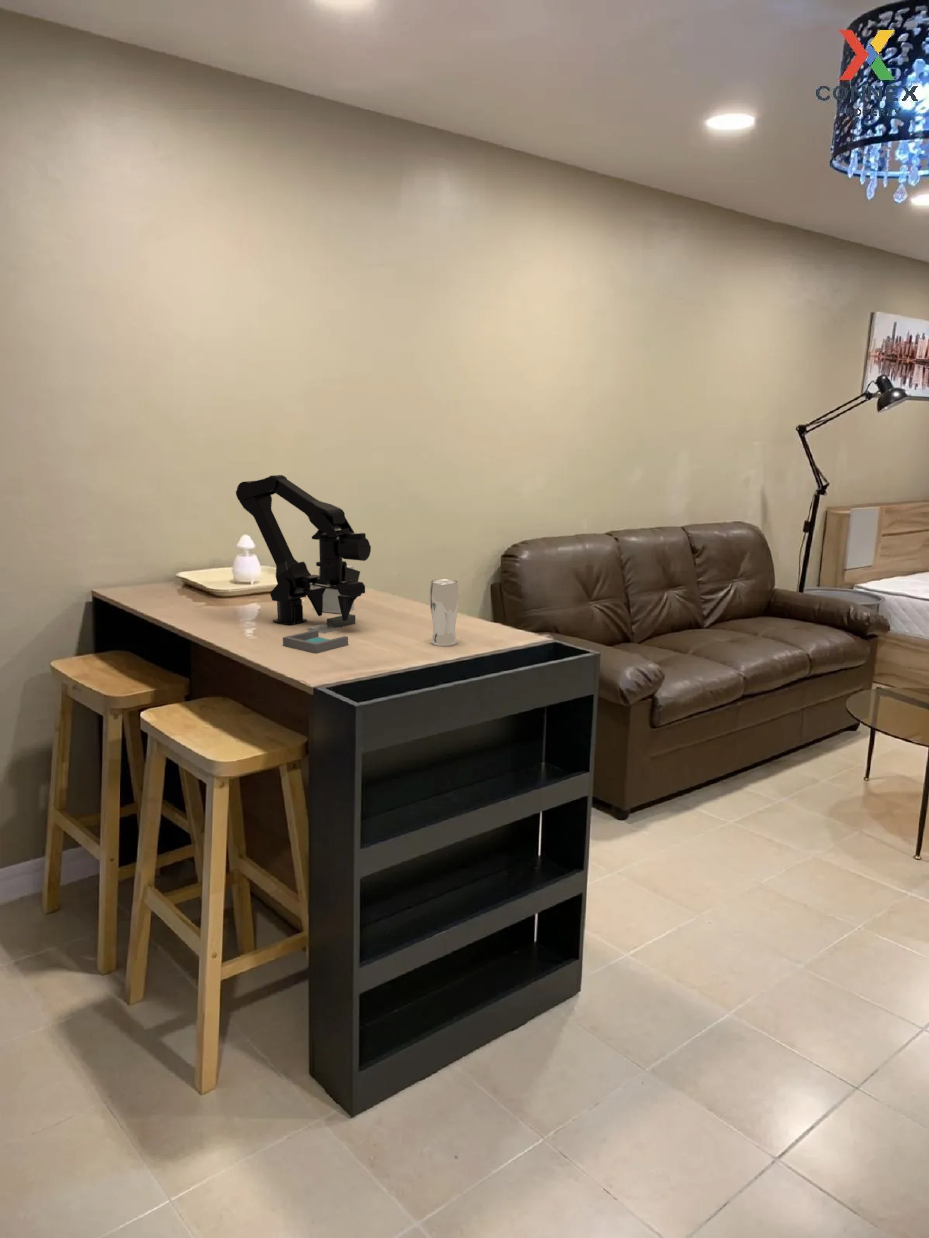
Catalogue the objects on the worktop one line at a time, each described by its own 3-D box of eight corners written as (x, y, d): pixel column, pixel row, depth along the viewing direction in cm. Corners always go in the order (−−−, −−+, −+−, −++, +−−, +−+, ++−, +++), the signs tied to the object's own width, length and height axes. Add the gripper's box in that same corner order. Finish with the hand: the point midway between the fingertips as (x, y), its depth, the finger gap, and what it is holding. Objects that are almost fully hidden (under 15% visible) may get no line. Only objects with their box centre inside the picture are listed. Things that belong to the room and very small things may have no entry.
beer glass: (429, 639, 219) (428, 579, 216) (457, 639, 219) (457, 578, 216) (430, 646, 212) (430, 584, 209) (459, 646, 213) (460, 584, 209)
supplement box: (318, 612, 250) (317, 567, 247) (332, 607, 256) (331, 563, 254) (341, 614, 247) (340, 569, 244) (355, 609, 254) (354, 565, 251)
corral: (283, 645, 212) (282, 637, 212) (315, 637, 220) (314, 629, 220) (316, 653, 205) (316, 644, 205) (348, 644, 213) (348, 636, 213)
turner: (344, 621, 238) (344, 613, 238) (360, 625, 235) (360, 616, 234) (307, 630, 228) (307, 621, 228) (324, 633, 225) (323, 624, 224)
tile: (302, 647, 213) (302, 640, 213) (318, 643, 217) (318, 637, 217) (317, 650, 210) (317, 644, 210) (333, 646, 214) (332, 640, 214)
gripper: (379, 557, 228) (380, 618, 231) (328, 551, 239) (330, 608, 242) (348, 562, 219) (349, 625, 222) (296, 555, 230) (298, 615, 234)
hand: (332, 618), depth 230 cm, fingers open, 9 cm apart
